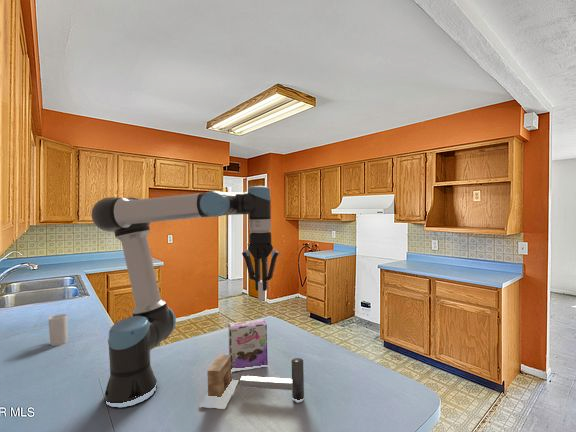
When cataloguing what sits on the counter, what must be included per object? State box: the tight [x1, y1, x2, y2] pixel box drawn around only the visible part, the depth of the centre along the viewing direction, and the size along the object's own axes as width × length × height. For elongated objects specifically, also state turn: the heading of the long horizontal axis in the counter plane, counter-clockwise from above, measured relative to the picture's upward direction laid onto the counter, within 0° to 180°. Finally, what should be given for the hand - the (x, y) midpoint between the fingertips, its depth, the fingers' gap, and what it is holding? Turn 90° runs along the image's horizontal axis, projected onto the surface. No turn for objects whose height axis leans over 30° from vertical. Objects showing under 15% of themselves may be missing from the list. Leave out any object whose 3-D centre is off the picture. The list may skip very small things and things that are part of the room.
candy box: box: [228, 318, 268, 369], centre depth 117 cm, size 14×6×16 cm, turn 105°
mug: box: [48, 313, 68, 347], centre depth 142 cm, size 10×7×12 cm, turn 64°
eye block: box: [206, 354, 233, 397], centre depth 100 cm, size 8×14×10 cm, turn 171°
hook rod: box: [239, 357, 305, 400], centre depth 97 cm, size 20×4×12 cm, turn 81°
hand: (261, 299), depth 108 cm, fingers closed
